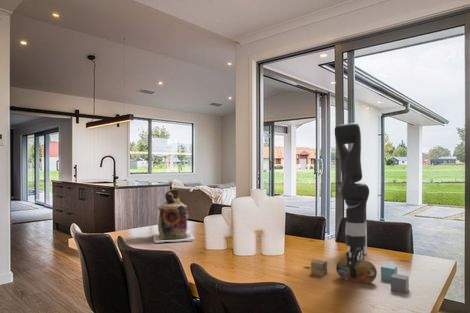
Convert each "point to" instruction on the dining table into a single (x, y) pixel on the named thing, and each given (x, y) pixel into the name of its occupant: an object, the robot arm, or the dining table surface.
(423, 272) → the dining table surface
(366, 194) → the robot arm
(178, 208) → the cookie jar
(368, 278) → the tin
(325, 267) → the brownish grey cube
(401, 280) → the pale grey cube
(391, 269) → the slate-teal cube
